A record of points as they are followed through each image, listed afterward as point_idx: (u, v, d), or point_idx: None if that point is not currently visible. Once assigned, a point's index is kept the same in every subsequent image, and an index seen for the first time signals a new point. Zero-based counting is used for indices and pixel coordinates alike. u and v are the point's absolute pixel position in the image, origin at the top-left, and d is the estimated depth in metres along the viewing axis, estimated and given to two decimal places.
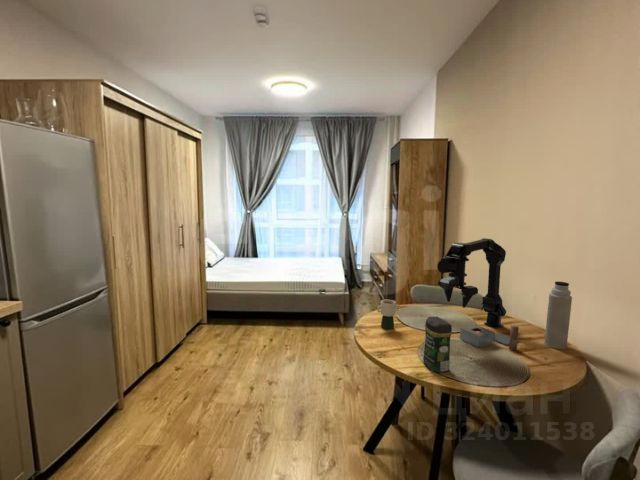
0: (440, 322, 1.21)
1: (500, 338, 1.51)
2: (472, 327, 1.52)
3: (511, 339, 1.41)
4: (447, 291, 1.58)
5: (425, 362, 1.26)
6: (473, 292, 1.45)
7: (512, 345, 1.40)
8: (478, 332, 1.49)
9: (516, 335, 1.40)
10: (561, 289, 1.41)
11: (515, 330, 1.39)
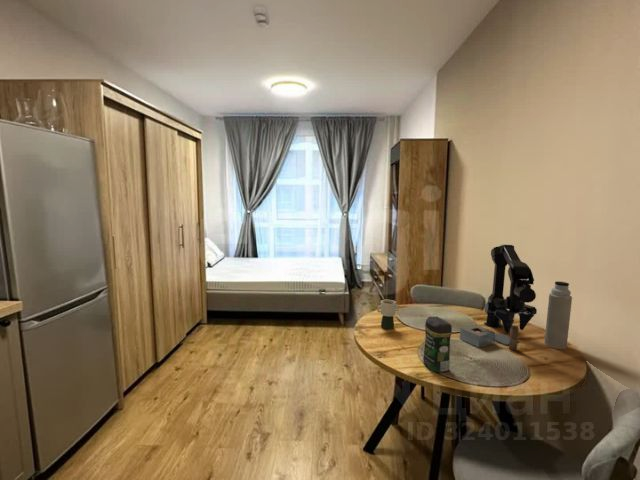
0: (440, 322, 1.21)
1: (500, 338, 1.51)
2: (472, 327, 1.52)
3: (511, 339, 1.41)
4: (520, 317, 1.43)
5: (425, 362, 1.26)
6: (500, 315, 1.36)
7: (512, 345, 1.40)
8: (478, 332, 1.49)
9: (516, 335, 1.40)
10: (561, 289, 1.41)
11: (515, 330, 1.39)
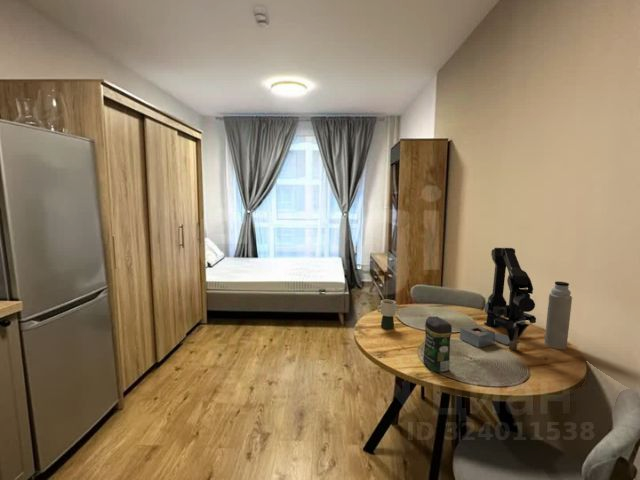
0: (440, 322, 1.21)
1: (500, 338, 1.51)
2: (472, 327, 1.52)
3: None
4: None
5: (425, 362, 1.26)
6: (499, 324, 1.36)
7: (512, 345, 1.40)
8: (478, 332, 1.49)
9: (516, 335, 1.40)
10: (561, 289, 1.41)
11: None
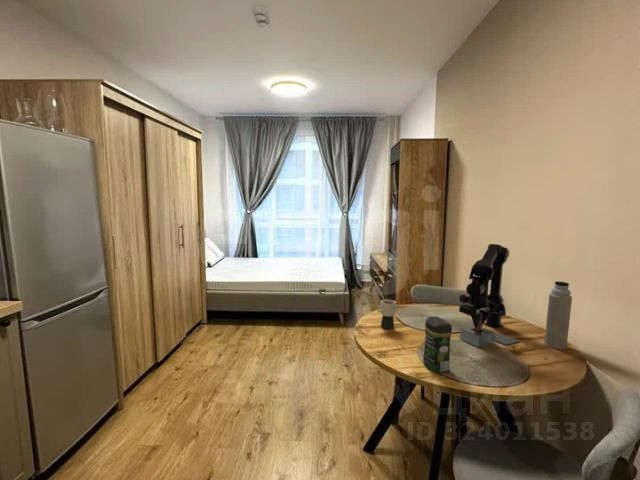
0: (440, 322, 1.21)
1: (500, 338, 1.51)
2: (472, 327, 1.52)
3: None
4: None
5: (425, 362, 1.26)
6: (463, 311, 1.44)
7: (477, 331, 1.48)
8: None
9: (480, 321, 1.47)
10: (561, 289, 1.41)
11: None
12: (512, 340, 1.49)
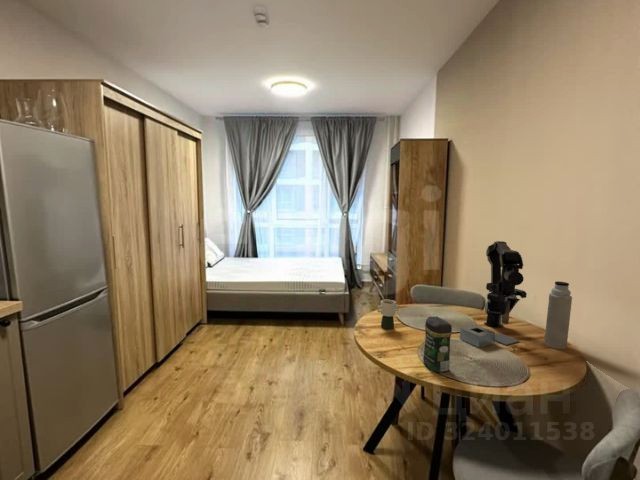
0: (440, 322, 1.21)
1: (500, 338, 1.51)
2: (472, 327, 1.52)
3: None
4: None
5: (425, 362, 1.26)
6: (492, 298, 1.45)
7: (504, 319, 1.49)
8: None
9: (508, 308, 1.48)
10: (561, 289, 1.41)
11: None
12: (512, 340, 1.49)
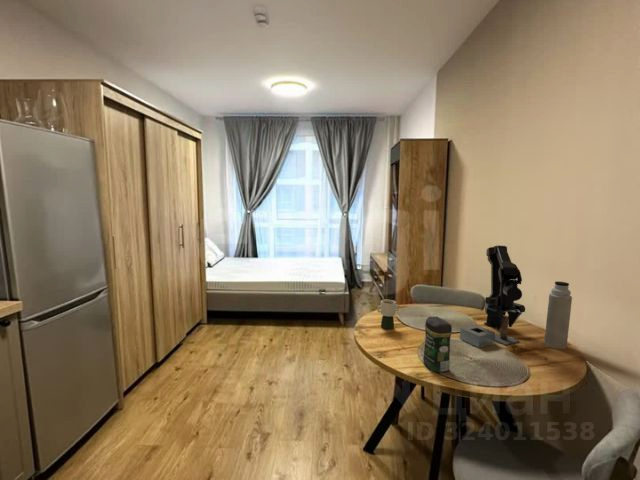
0: (440, 322, 1.21)
1: None
2: (472, 327, 1.52)
3: (501, 329, 1.50)
4: (509, 315, 1.52)
5: (425, 362, 1.26)
6: (491, 313, 1.45)
7: (503, 335, 1.50)
8: None
9: (506, 325, 1.49)
10: (561, 289, 1.41)
11: (505, 320, 1.48)
12: (512, 340, 1.49)
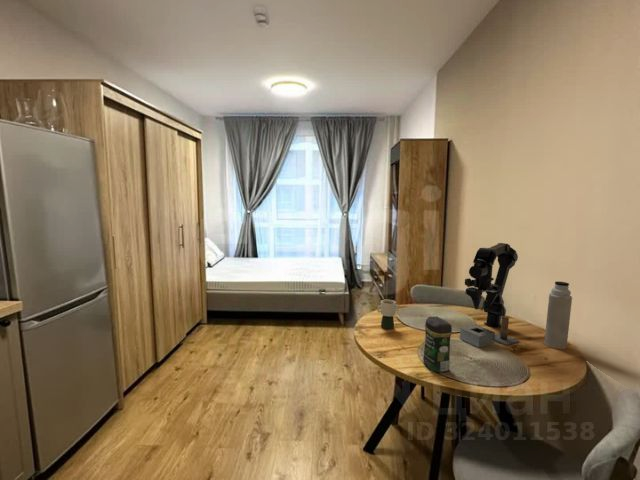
0: (440, 322, 1.21)
1: None
2: (472, 327, 1.52)
3: (502, 329, 1.50)
4: (488, 295, 1.61)
5: (425, 362, 1.26)
6: (470, 293, 1.53)
7: (503, 335, 1.50)
8: None
9: (506, 325, 1.49)
10: (561, 289, 1.41)
11: (506, 320, 1.48)
12: (512, 340, 1.49)
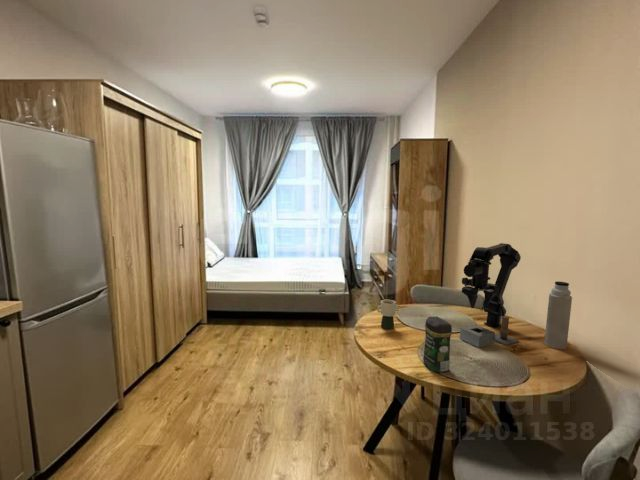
0: (440, 322, 1.21)
1: None
2: (472, 327, 1.52)
3: (502, 329, 1.50)
4: (485, 295, 1.62)
5: (425, 362, 1.26)
6: (466, 292, 1.55)
7: (503, 335, 1.50)
8: None
9: (506, 325, 1.49)
10: (561, 289, 1.41)
11: (506, 320, 1.48)
12: (512, 340, 1.49)
